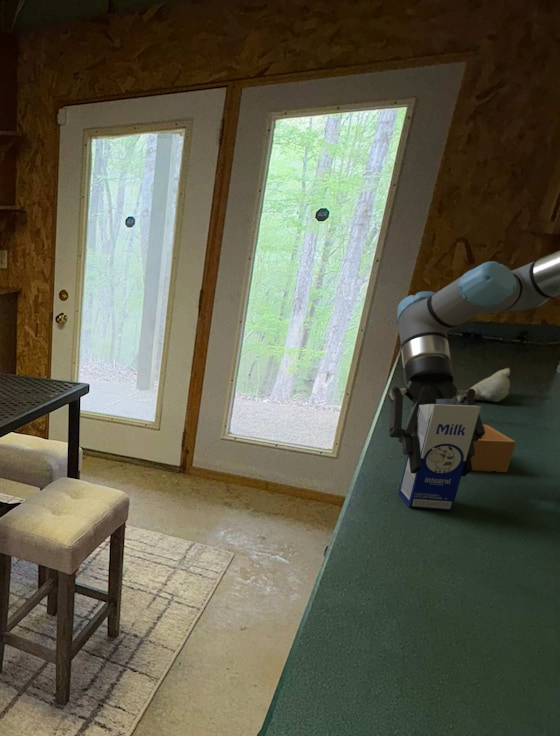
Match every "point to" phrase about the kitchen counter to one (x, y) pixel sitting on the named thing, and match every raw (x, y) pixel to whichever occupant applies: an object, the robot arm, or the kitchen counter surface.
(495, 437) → the bin
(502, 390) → the white lumpy piece
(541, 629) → the kitchen counter surface
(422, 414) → the milk carton
